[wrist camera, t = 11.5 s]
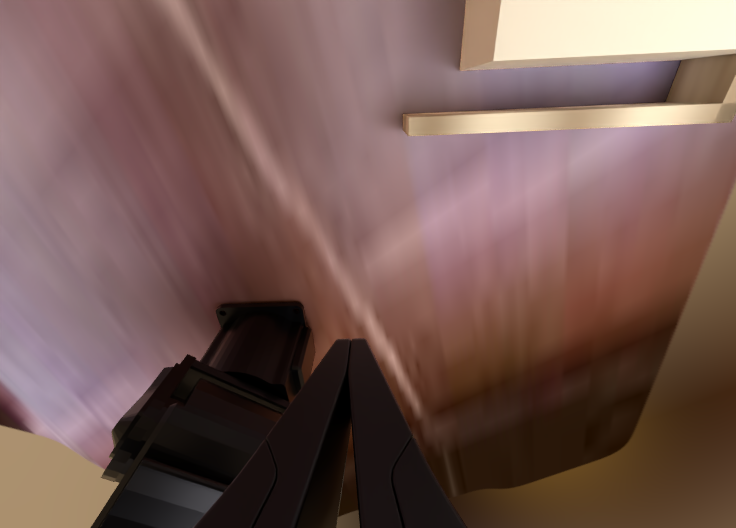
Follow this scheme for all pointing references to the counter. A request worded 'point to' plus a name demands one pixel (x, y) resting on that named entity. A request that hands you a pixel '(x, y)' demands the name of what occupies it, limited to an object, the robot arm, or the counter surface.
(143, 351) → the counter surface
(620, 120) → the tan tray
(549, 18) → the carton
